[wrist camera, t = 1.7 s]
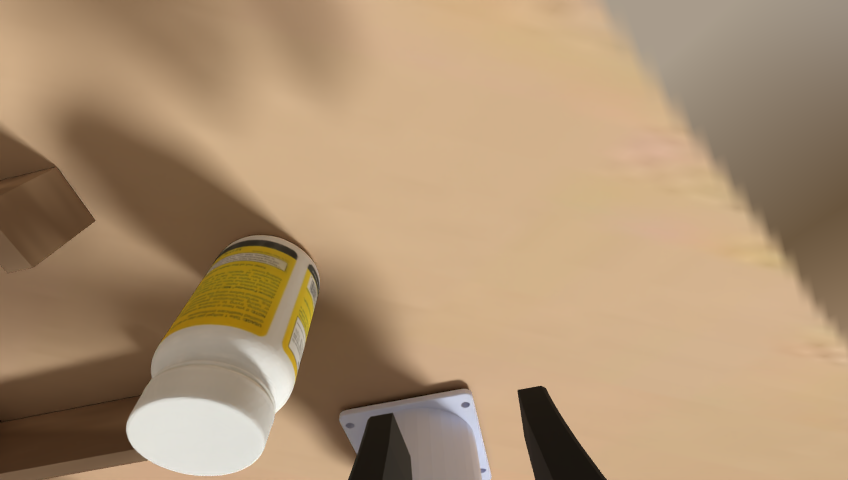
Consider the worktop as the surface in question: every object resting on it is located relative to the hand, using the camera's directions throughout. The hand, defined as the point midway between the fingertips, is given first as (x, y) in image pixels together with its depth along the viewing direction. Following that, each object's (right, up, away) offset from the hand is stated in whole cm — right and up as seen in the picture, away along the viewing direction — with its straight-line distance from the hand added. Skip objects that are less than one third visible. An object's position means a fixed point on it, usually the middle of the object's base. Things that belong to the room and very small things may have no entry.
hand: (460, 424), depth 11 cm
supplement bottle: (-8, +3, +9) cm, 12 cm away
